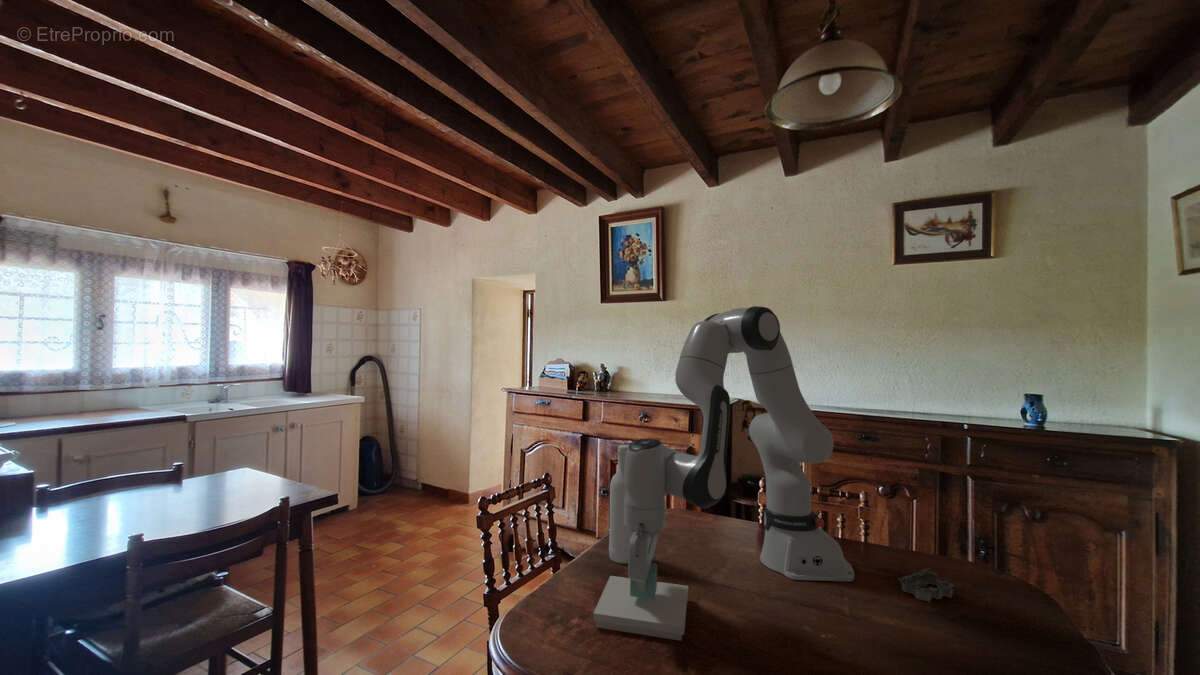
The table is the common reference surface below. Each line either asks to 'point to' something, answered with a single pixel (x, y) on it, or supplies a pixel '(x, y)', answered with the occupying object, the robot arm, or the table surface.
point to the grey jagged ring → (921, 586)
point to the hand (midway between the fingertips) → (643, 581)
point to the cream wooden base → (643, 610)
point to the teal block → (650, 585)
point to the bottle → (618, 513)
